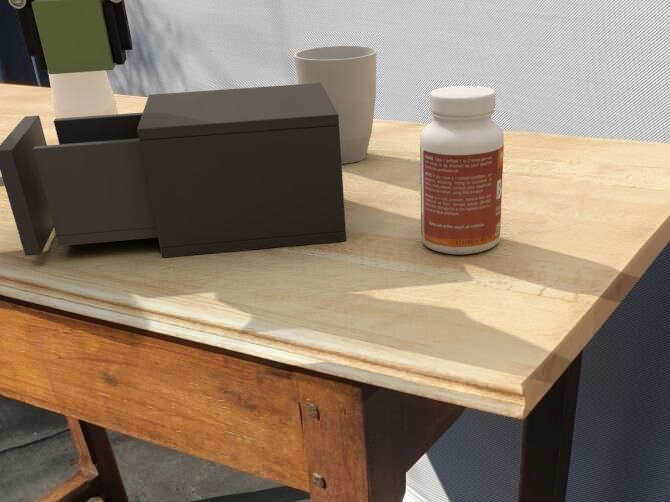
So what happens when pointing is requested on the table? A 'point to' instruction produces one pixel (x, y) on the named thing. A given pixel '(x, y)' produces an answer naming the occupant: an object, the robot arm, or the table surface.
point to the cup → (345, 91)
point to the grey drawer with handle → (77, 181)
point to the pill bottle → (461, 171)
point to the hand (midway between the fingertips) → (84, 61)
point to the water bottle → (82, 94)
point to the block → (73, 35)
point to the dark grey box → (243, 168)
